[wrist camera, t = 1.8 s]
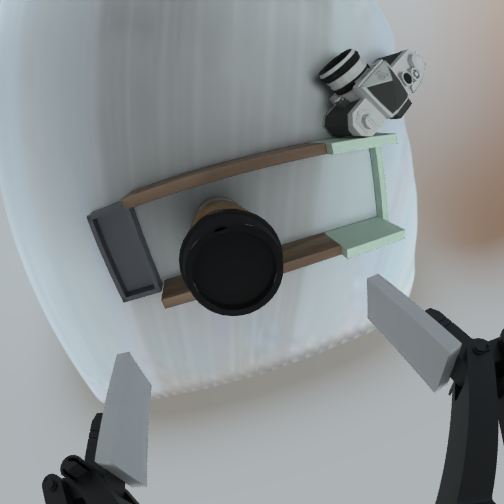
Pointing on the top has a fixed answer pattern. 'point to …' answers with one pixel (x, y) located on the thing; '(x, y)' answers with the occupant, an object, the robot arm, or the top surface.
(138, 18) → the top surface
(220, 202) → the coffee cup
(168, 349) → the top surface
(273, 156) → the channel
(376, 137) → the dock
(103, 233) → the tray
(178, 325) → the top surface
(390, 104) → the camera
